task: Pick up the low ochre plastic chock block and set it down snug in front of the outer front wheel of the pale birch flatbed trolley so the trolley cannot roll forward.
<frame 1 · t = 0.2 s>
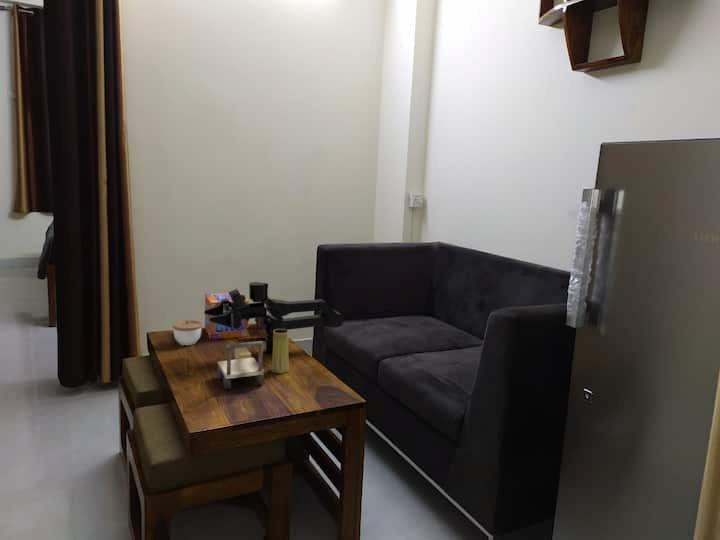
hand: (206, 315, 191), 16 cm above the table, tool horizontal, fingers open, 9 cm apart
chock: (242, 362, 193), on the table
wooden carving: (266, 338, 222), on the table
trolley: (240, 359, 174), point 8 cm above the table, slide at 0.0 cm
lidded jar: (187, 343, 211), on the table
game box: (226, 333, 226), on the table
vase: (280, 370, 187), on the table
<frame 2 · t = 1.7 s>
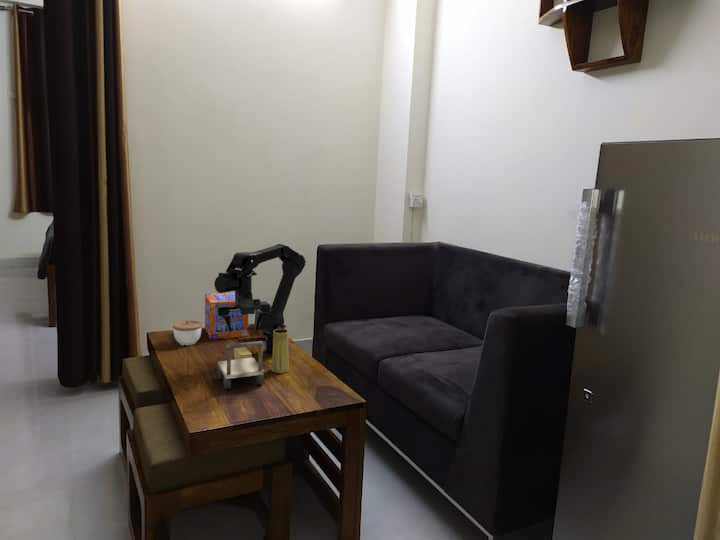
hand: (243, 331, 191), 11 cm above the table, tool pointing down, fingers open, 9 cm apart
nothing on the table moved.
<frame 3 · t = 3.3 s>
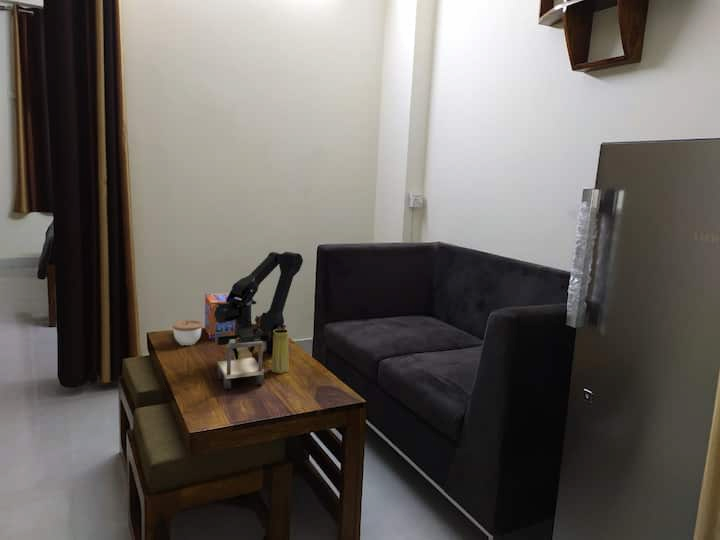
hand: (242, 359, 192), 1 cm above the table, tool pointing down, fingers closed on chock, 4 cm apart
chock: (242, 362, 193), on the table, touching gripper
everything else where it was.
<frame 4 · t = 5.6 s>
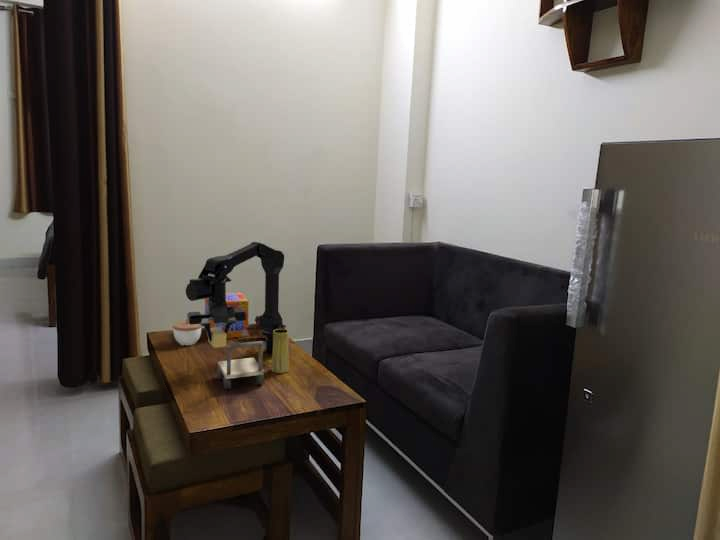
hand: (217, 340, 181), 11 cm above the table, tool pointing down, fingers closed on chock, 4 cm apart
chock: (217, 343, 182), point 10 cm above the table, touching gripper
everything else where it was.
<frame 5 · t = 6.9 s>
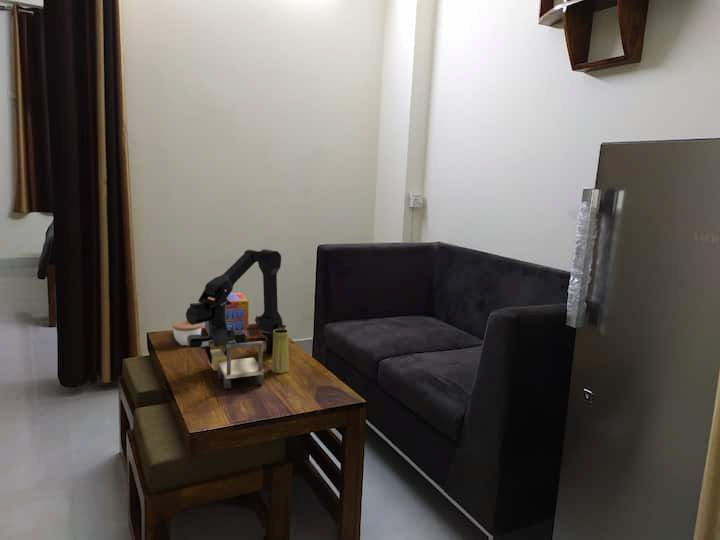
hand: (217, 363, 183), 3 cm above the table, tool pointing down, fingers closed on chock, 4 cm apart
chock: (217, 365, 183), point 2 cm above the table, touching gripper
everything else where it was.
when the fingers open (2 cm above the table, at t = 7.8 s): chock drops 1 cm, on the table.
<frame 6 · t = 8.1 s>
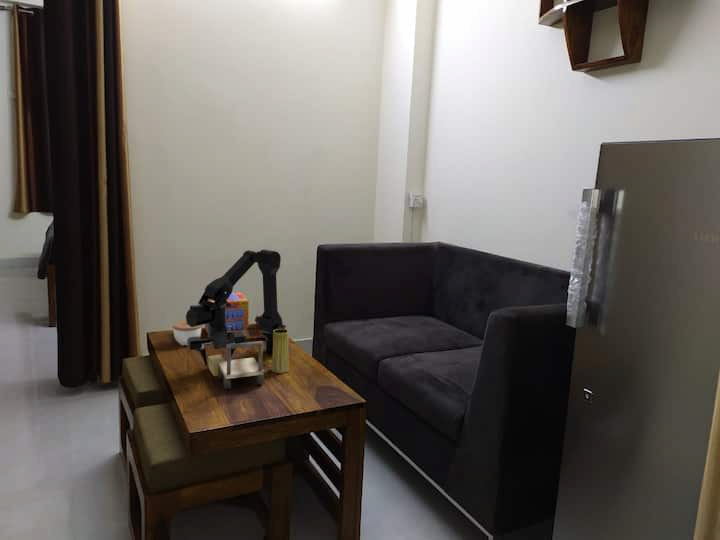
hand: (217, 365, 183), 2 cm above the table, tool pointing down, fingers open, 7 cm apart
chock: (217, 371, 183), on the table
everything else where it was.
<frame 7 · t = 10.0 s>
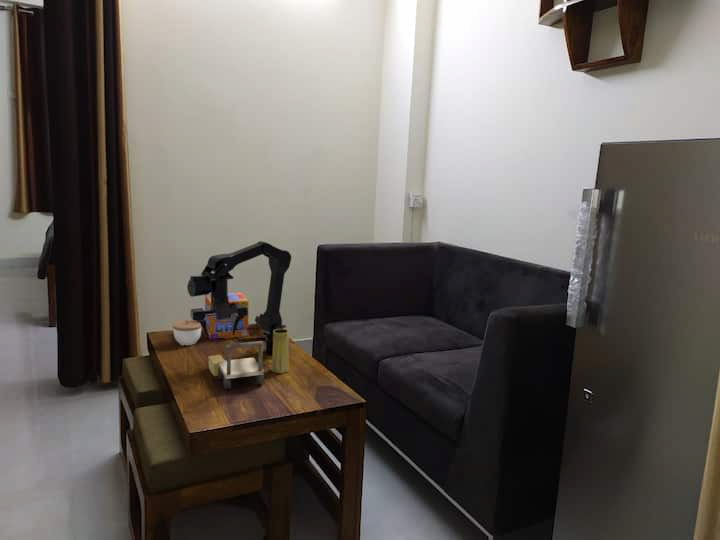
hand: (219, 336, 187), 11 cm above the table, tool pointing down, fingers open, 9 cm apart
nothing on the table moved.
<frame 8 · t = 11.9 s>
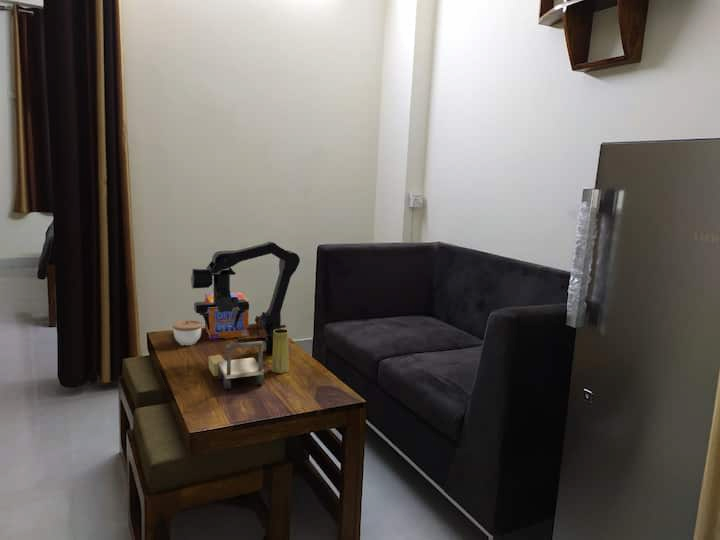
hand: (221, 329, 194), 11 cm above the table, tool pointing down, fingers open, 9 cm apart
nothing on the table moved.
at the end: chock 0.3 cm from the target spot, on the table; chock tilted 0°; trolley slide at 0.0 cm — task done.
